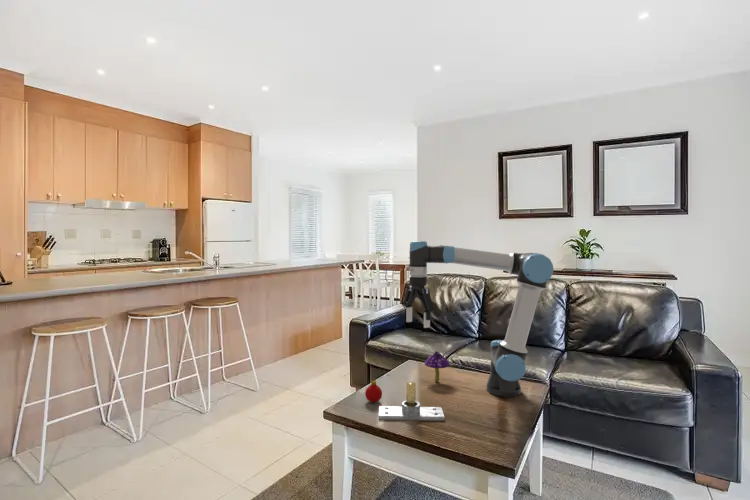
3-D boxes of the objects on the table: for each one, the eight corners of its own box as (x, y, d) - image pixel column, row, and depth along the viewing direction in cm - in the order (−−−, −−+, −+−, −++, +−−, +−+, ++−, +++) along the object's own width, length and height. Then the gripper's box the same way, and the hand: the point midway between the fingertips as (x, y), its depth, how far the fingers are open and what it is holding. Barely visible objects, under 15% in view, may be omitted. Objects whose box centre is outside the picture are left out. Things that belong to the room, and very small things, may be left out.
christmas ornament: (379, 398, 176) (379, 375, 176) (383, 404, 169) (383, 380, 169) (363, 399, 174) (363, 376, 174) (367, 406, 167) (367, 382, 167)
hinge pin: (414, 408, 161) (415, 381, 160) (416, 413, 157) (416, 385, 156) (405, 408, 160) (406, 381, 160) (406, 413, 157) (407, 385, 156)
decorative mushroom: (419, 382, 196) (419, 351, 196) (432, 375, 206) (433, 346, 205) (441, 388, 188) (441, 356, 188) (454, 381, 197) (454, 350, 197)
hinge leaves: (441, 410, 163) (441, 399, 163) (444, 420, 154) (444, 408, 154) (379, 409, 164) (379, 398, 163) (378, 419, 155) (378, 407, 154)
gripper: (395, 274, 186) (395, 320, 187) (427, 278, 164) (427, 330, 165) (409, 273, 190) (409, 318, 190) (442, 278, 168) (442, 329, 168)
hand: (417, 324), depth 177 cm, fingers open, 13 cm apart
